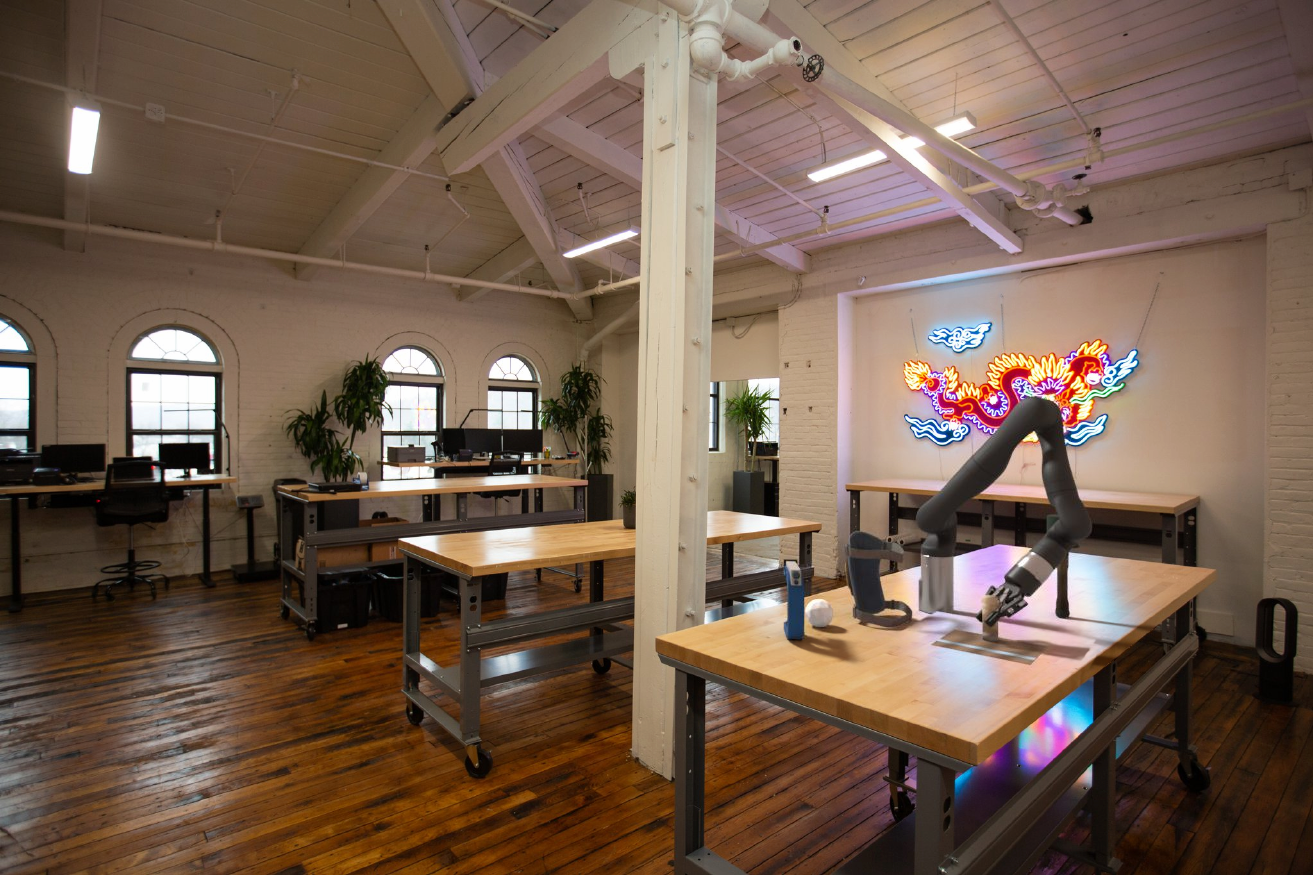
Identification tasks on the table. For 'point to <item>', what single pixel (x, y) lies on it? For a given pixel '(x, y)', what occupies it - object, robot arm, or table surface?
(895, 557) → the knee pad
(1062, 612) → the potato masher grenade
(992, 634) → the tan round-topped cylinder
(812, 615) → the ball
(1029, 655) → the board
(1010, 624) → the table surface
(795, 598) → the handheld scanner
